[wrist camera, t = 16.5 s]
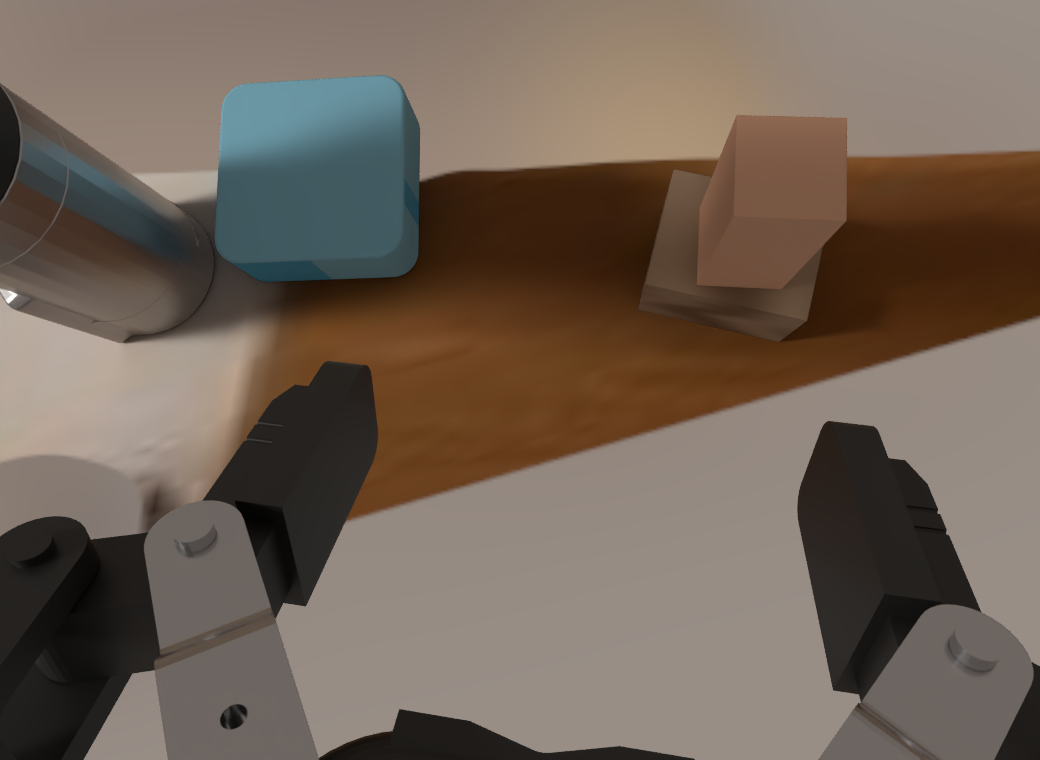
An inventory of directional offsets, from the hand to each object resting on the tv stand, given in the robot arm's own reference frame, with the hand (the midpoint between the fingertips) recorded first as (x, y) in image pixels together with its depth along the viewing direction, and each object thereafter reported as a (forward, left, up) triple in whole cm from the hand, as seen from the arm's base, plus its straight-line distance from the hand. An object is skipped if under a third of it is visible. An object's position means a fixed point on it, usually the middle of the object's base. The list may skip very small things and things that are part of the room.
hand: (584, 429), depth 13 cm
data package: (-6, +20, -30) cm, 37 cm away
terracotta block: (+15, +4, -27) cm, 31 cm away
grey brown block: (+15, +5, -33) cm, 36 cm away
